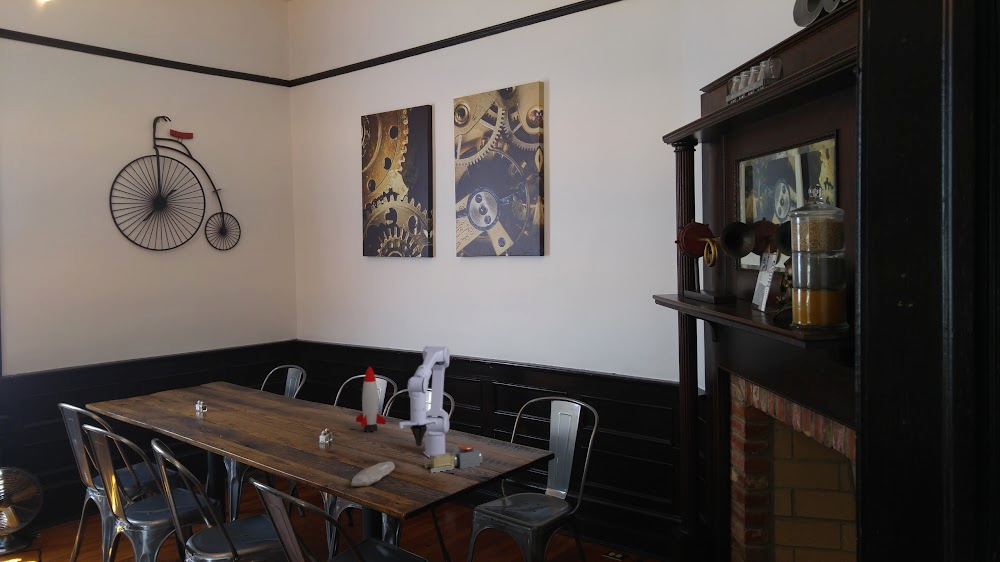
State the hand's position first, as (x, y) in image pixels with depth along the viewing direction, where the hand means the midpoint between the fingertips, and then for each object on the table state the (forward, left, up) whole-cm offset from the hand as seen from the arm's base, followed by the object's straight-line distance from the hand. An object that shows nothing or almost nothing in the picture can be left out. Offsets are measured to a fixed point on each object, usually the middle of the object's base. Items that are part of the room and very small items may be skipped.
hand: (418, 445), depth 259 cm
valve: (0, +14, -10) cm, 17 cm away
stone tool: (+1, -17, -10) cm, 20 cm away
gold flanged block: (0, +9, -10) cm, 13 cm away
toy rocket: (-71, -1, -10) cm, 72 cm away
